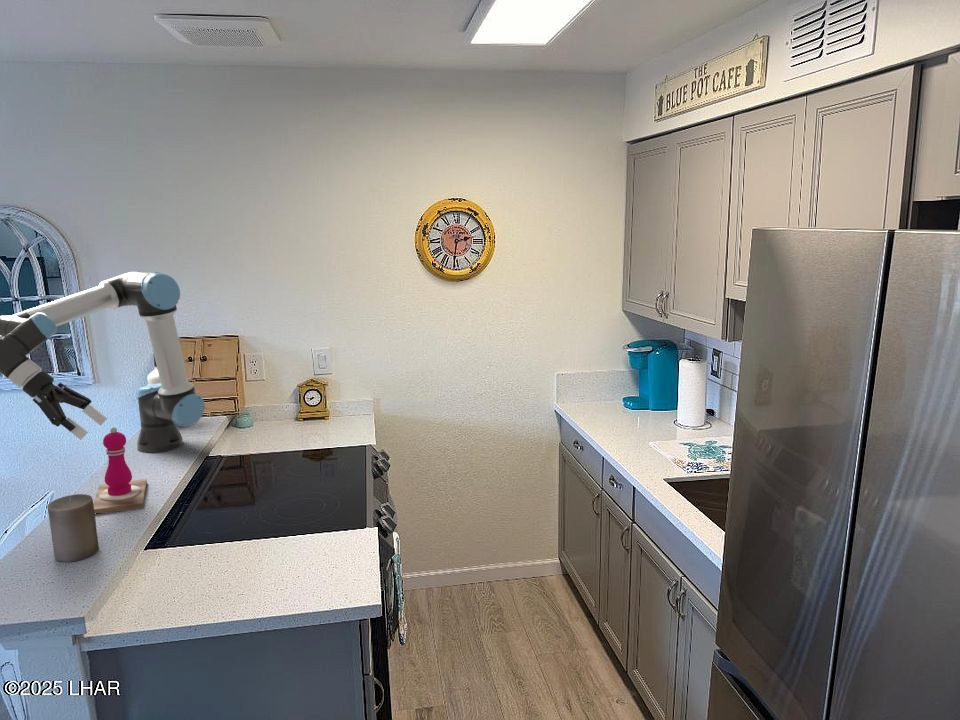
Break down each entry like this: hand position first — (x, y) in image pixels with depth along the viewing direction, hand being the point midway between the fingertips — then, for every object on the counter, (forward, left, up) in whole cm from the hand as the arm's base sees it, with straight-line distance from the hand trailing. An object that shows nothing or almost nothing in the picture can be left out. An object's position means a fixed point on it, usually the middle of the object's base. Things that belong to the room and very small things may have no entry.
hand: (94, 428), depth 197 cm
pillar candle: (+35, -2, -22) cm, 41 cm away
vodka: (-73, +14, -22) cm, 78 cm away
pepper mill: (+1, +5, -20) cm, 21 cm away
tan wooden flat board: (+1, +5, -22) cm, 22 cm away
